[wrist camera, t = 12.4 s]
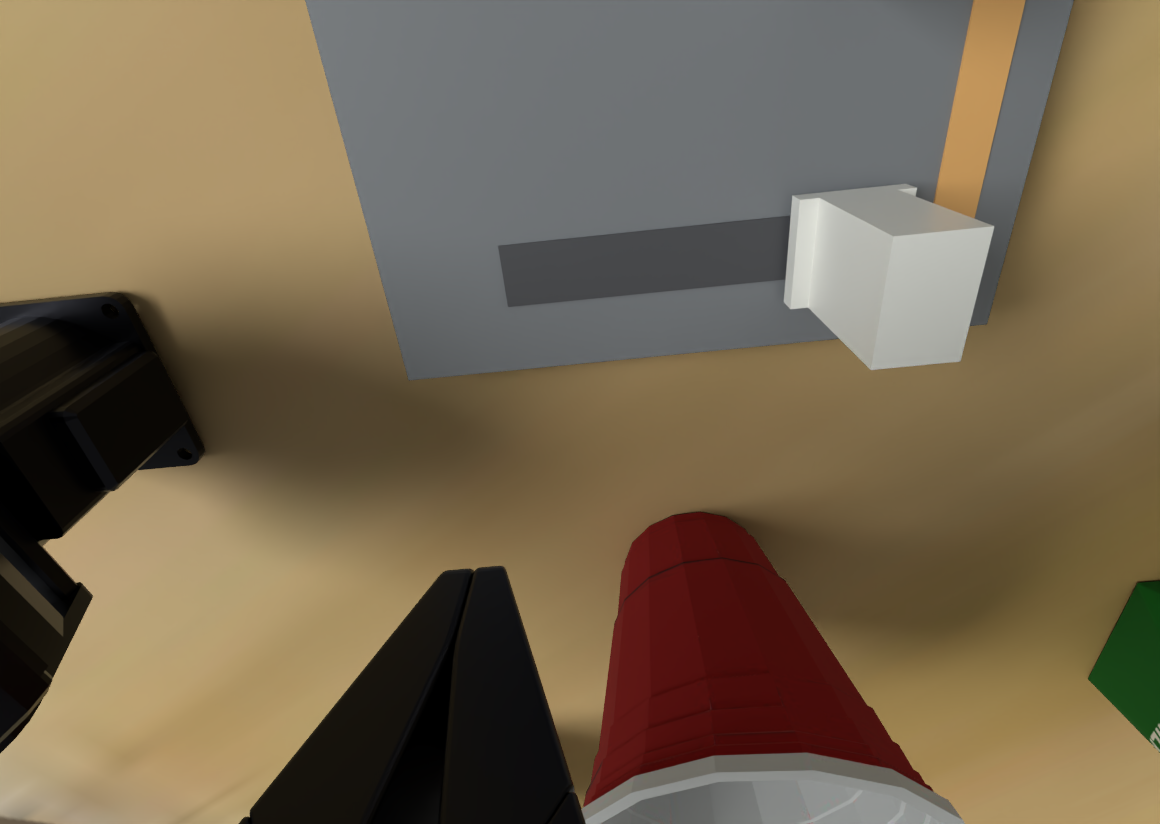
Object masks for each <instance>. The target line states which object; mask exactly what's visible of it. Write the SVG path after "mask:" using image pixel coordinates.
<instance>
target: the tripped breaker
mask: <svg viewBox="0 0 1160 824" xmlns="http://www.w3.org/2000/svg"><path fill="white" fill-rule="evenodd" d="M916 191H917V188H916V187H914V186H911V185H908V184H898V185H888V186H879V187H869V188H859V189H850V190H840V191H830V192H821V193H811V194H802V195H792V206H791V218H790V231H789V243H788V255H787V267H786V280H785V292H784V303H785V304H786V305H787V306H788V307H789V308H790V309H799V308H809V309H810V310H811V311H812V312H813V313H814V314H815V315H816V316H817V317H818V318H819V319H820V320H821V321H822V322H823V323H824V324H825V325H826V326H827V327H828V328H829V329H830V330H831V331H832V332H833V333H834V334H835V335H836V336H837V337H838V338H839V339H840V340H841V341H842V342H843V343H844V344H845V345H846V346H847V347H848V348H849V349H850V350H851V351H852V352H853V353H854V354H855V355H856V356H857V357H858V358H859V359H860V360H861V361H862V362H863V363H864V364H865V365H866V366H867V367H868V368H869V369H870V370H876V369H887V368H897V367H908V366H918V365H929V364H939V363H950V362H960V361H961V357H962V353H963V349H964V345H965V341H966V337H967V333H968V329H969V325H970V321H971V317H972V313H973V309H974V305H975V302H976V298H977V294H978V290H979V286H980V282H981V278H982V274H983V270H984V266H985V262H986V258H987V254H988V250H989V246H990V242H991V238H992V234H993V230H994V226H993V225H990V224H987V223H985V222H982V221H979V220H977V219H974V218H971V217H969V216H966V215H963V214H961V213H958V212H955V211H953V210H950V209H947V208H945V207H942V206H939V205H937V204H934V203H931V202H929V201H926V200H923V199H921V198H918V197H916Z"/></svg>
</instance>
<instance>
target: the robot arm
mask: <svg viewBox="0 0 1160 824" xmlns="http://www.w3.org/2000/svg"><path fill="white" fill-rule="evenodd" d="M110 304H111V305H113V306H114V307H115V308H116V309H117V310H118V313H119V314H117V313H115V312H113V310H112V309H111V308H110ZM184 448H185V449H187V450H189V451H190V452H191V453H189V452H187V451H186V450H185V449H184ZM204 453H205V449H204V446H203V444H202V442H201V440H200V438H199V436H198V434H197V432H196V430H195V428H194V426H193V424H192V422H191V420H190V418H189V416H188V414H187V412H186V410H185V408H184V406H183V404H182V402H181V400H180V398H179V396H178V394H177V392H176V390H175V388H174V386H173V384H172V382H171V380H170V378H169V376H168V374H167V372H166V370H165V368H164V366H163V364H162V362H161V360H160V358H159V356H158V354H157V352H156V350H155V348H154V346H153V344H152V342H151V340H150V338H149V336H148V334H147V332H146V330H145V328H144V326H143V324H142V322H141V320H140V318H139V316H138V314H137V312H136V310H135V308H134V306H133V304H132V303H131V302H130V300H129V299H128V298H126V297H125V296H124V295H121V294H119V293H115V292H106V293H97V294H87V295H77V296H67V297H58V298H48V299H38V300H29V301H19V302H9V303H0V753H1V752H2V751H3V750H4V749H5V748H6V747H7V746H8V745H9V744H10V743H11V742H12V741H13V740H14V739H15V738H16V737H17V736H18V734H19V733H20V732H21V731H22V730H23V728H24V727H25V726H26V725H27V723H28V722H29V721H30V719H31V718H32V716H33V715H34V713H35V711H36V710H37V708H38V706H39V705H40V703H41V701H42V699H43V697H44V696H45V695H46V694H47V692H48V690H49V687H50V685H51V682H52V679H53V677H54V675H55V672H56V670H57V668H58V666H59V664H60V662H61V660H62V658H63V656H64V654H65V652H66V650H67V648H68V646H69V644H70V642H71V640H72V638H73V636H74V634H75V632H76V630H77V628H78V626H79V624H80V622H81V620H82V618H83V616H84V614H85V612H86V610H87V608H88V606H89V604H90V602H91V600H92V598H93V595H92V594H91V593H90V592H89V591H88V590H87V589H86V587H85V586H84V585H83V584H82V583H81V582H79V583H76V582H75V581H74V580H73V579H72V578H71V577H70V576H69V575H68V574H67V573H66V571H65V570H64V569H63V568H62V567H61V566H60V565H59V564H58V563H57V562H56V561H55V559H54V558H53V557H52V556H51V555H50V554H49V553H48V552H47V551H46V550H45V549H44V548H43V545H44V544H46V543H47V542H48V541H49V540H50V539H58V538H60V537H62V536H63V535H65V534H66V533H67V532H68V531H69V530H70V529H71V528H72V527H73V526H74V525H75V524H76V523H77V522H78V521H79V520H80V519H82V518H83V517H84V516H85V515H86V514H87V513H88V512H89V511H90V510H91V509H92V508H93V507H94V506H95V505H96V504H97V503H99V502H100V501H101V500H102V499H103V498H104V497H105V496H106V495H107V494H108V493H109V492H110V491H115V490H116V489H118V488H119V487H120V486H121V485H122V484H123V483H124V482H125V481H126V480H127V479H129V478H130V477H131V476H132V475H133V474H134V473H135V472H136V471H137V470H144V469H155V468H166V467H176V466H187V465H193V464H196V463H197V462H198V461H199V460H200V459H201V458H202V456H203V455H204ZM239 824H586V823H585V819H584V816H583V813H582V810H581V807H580V803H579V800H578V797H577V795H576V793H575V791H574V786H573V782H572V779H571V776H570V773H569V770H568V766H567V763H566V760H565V757H564V754H563V750H562V747H561V744H560V741H559V738H558V734H557V731H556V728H555V725H554V722H553V718H552V715H551V712H550V709H549V706H548V703H547V699H546V696H545V693H544V690H543V687H542V683H541V680H540V677H539V674H538V671H537V667H536V664H535V661H534V658H533V655H532V651H531V648H530V645H529V642H528V639H527V635H526V632H525V629H524V626H523V623H522V619H521V616H520V613H519V610H518V607H517V604H516V600H515V597H514V594H513V591H512V588H511V584H510V581H509V578H508V575H507V572H506V569H505V568H504V567H503V566H492V567H481V568H477V569H476V570H475V571H474V570H472V569H458V570H447V571H444V572H443V573H442V574H441V575H440V576H439V577H438V578H437V579H436V581H435V582H434V583H433V584H432V586H431V587H430V588H429V589H428V590H427V592H426V593H425V594H424V595H423V597H422V598H421V599H420V600H419V602H418V603H417V604H416V605H415V607H414V608H413V609H412V610H411V612H410V613H409V614H408V615H407V616H406V618H405V619H404V620H403V621H402V623H401V624H400V625H399V626H398V628H397V629H396V630H395V631H394V633H393V634H392V635H391V636H390V637H389V639H388V640H387V641H386V642H385V644H384V645H383V646H382V647H381V649H380V650H379V651H378V652H377V654H376V655H375V656H374V657H373V659H372V660H371V661H370V662H369V663H368V665H367V666H366V667H365V668H364V670H363V671H362V672H361V673H360V675H359V676H358V677H357V678H356V680H355V681H354V682H353V683H352V684H351V686H350V687H349V688H348V689H347V691H346V692H345V693H344V694H343V696H342V697H341V698H340V699H339V701H338V702H337V703H336V704H335V706H334V707H333V708H332V709H331V710H330V712H329V713H328V714H327V715H326V717H325V718H324V719H323V720H322V722H321V723H320V724H319V725H318V727H317V728H316V729H315V730H314V731H313V733H312V734H311V735H310V736H309V738H308V739H307V740H306V741H305V743H304V744H303V745H302V746H301V748H300V749H299V750H298V751H297V753H296V754H295V755H294V756H293V757H292V759H291V760H290V761H289V762H288V764H287V765H286V766H285V767H284V769H283V770H282V771H281V772H280V774H279V775H278V776H277V777H276V779H275V780H274V781H273V782H272V783H271V785H270V786H269V787H268V788H267V790H266V791H265V792H264V793H263V795H262V796H261V797H260V798H259V800H258V801H257V802H256V803H255V804H254V806H253V807H252V808H251V810H250V817H244V818H243V819H242V820H241V821H240V823H239Z"/></svg>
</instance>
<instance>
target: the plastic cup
mask: <svg viewBox="0 0 1160 824" xmlns="http://www.w3.org/2000/svg"><path fill="white" fill-rule="evenodd" d="M582 813H583V816H584V819H585V823H586V824H965V823H964V821H963V820H962V818H961V817H960V816H959V814H958V813H957V811H956V810H955V809H954V807H953V806H952V805H951V803H950V802H949V800H947V799H945V798H943V797H942V796H940V795H938V794H936V793H934V792H933V790H932V788H931V787H930V786H929V785H927V784H925V782H924V781H923V779H922V777H921V776H920V774H919V773H918V772H916V771H915V770H913V768H912V766H911V765H910V763H909V761H908V760H907V758H906V756H905V755H904V753H903V751H902V750H901V748H900V746H899V745H898V744H897V743H895V742H893V741H892V740H891V738H890V736H889V735H888V733H887V731H886V730H885V728H884V726H883V725H882V723H881V721H880V720H879V718H878V716H877V715H876V713H875V712H874V710H873V708H871V707H869V706H868V705H867V704H866V703H865V701H864V700H863V698H862V697H861V695H860V694H859V692H858V691H857V689H856V688H855V686H854V685H853V683H852V682H851V680H850V679H849V677H848V676H847V674H846V672H845V671H844V669H843V668H842V666H841V665H840V663H839V662H838V660H837V659H836V657H835V656H834V654H833V653H832V651H831V650H830V648H829V647H828V645H827V644H826V642H825V641H824V639H823V637H822V636H821V634H820V633H819V631H818V630H817V628H816V627H815V625H814V624H813V622H812V621H811V619H810V618H809V616H808V615H807V613H806V612H805V610H804V609H803V607H802V606H801V604H800V603H799V601H798V599H797V598H796V596H795V595H794V593H793V592H792V590H791V589H790V587H789V586H788V584H787V583H786V581H785V580H784V579H782V578H781V577H779V576H778V574H777V572H776V571H775V569H774V568H773V566H772V565H771V563H770V562H769V560H768V559H767V557H766V556H765V554H764V553H763V551H762V550H761V548H760V547H759V545H758V544H757V542H756V541H755V539H754V538H753V537H752V536H751V535H749V534H748V533H747V531H746V530H745V529H744V528H743V527H741V526H740V525H738V524H736V523H735V522H733V521H732V520H730V519H728V518H727V517H724V516H719V515H714V514H709V513H703V512H696V513H688V514H680V515H673V516H671V517H669V518H666V519H664V520H662V521H660V522H658V523H655V524H653V525H651V526H649V527H648V528H647V529H646V530H645V531H644V532H643V533H642V534H641V535H640V536H639V537H638V538H637V539H636V540H635V541H634V542H633V543H632V545H631V548H630V550H629V553H628V555H627V558H626V560H625V565H624V568H623V570H622V574H621V585H620V596H619V608H618V616H617V619H616V621H615V624H614V631H613V639H612V647H611V655H610V663H609V671H608V680H607V688H606V696H605V704H604V712H603V720H602V728H601V736H600V744H599V751H598V753H597V755H596V757H595V760H594V766H593V773H592V779H591V784H590V786H589V788H588V790H587V792H586V796H585V802H584V807H583V808H582Z"/></svg>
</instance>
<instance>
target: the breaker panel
mask: <svg viewBox="0 0 1160 824" xmlns="http://www.w3.org/2000/svg"><path fill="white" fill-rule="evenodd" d="M305 1H306V5H307V9H308V12H309V16H310V20H311V23H312V27H313V31H314V34H315V38H316V42H317V45H318V49H319V53H320V56H321V60H322V64H323V67H324V71H325V75H326V78H327V82H328V86H329V89H330V93H331V97H332V100H333V104H334V108H335V111H336V115H337V119H338V123H339V126H340V130H341V134H342V137H343V141H344V145H345V148H346V152H347V156H348V159H349V163H350V167H351V170H352V174H353V178H354V181H355V185H356V189H357V192H358V196H359V200H360V203H361V207H362V211H363V214H364V218H365V222H366V225H367V229H368V233H369V236H370V240H371V244H372V247H373V251H374V255H375V258H376V262H377V266H378V269H379V273H380V277H381V280H382V284H383V288H384V291H385V295H386V299H387V302H388V306H389V310H390V313H391V317H392V321H393V324H394V328H395V332H396V335H397V339H398V343H399V347H400V350H401V354H402V358H403V361H404V365H405V369H406V372H407V376H408V380H418V379H429V378H439V377H449V376H460V375H470V374H480V373H490V372H501V371H511V370H521V369H532V368H542V367H552V366H563V365H573V364H583V363H594V362H604V361H614V360H624V359H635V358H645V357H655V356H666V355H676V354H686V353H697V352H707V351H717V350H728V349H738V348H748V347H758V346H769V345H779V344H789V343H800V342H810V341H820V340H831V339H839V338H838V337H837V336H836V335H835V334H834V333H833V332H832V331H831V330H830V329H829V328H828V327H827V326H826V325H825V324H824V323H823V322H822V321H821V320H820V319H819V318H818V317H817V316H816V315H815V314H814V313H813V312H812V311H811V310H810V309H809V308H799V309H790V308H789V307H788V306H787V305H786V304H785V303H784V292H785V280H786V267H787V255H788V243H789V231H790V218H791V206H792V195H802V194H811V193H821V192H830V191H840V190H850V189H859V188H869V187H879V186H888V185H898V184H908V185H911V186H914V187H916V188H917V191H916V197H918V198H921V199H923V200H926V201H929V202H931V203H934V204H937V205H939V206H942V207H945V208H947V209H950V210H953V211H955V212H958V213H961V214H963V215H966V216H969V217H971V218H974V219H977V220H979V221H982V222H985V223H987V224H990V225H993V226H994V230H993V234H992V238H991V242H990V246H989V250H988V254H987V258H986V262H985V266H984V270H983V274H982V278H981V282H980V286H979V290H978V294H977V298H976V302H975V305H974V309H973V313H972V317H971V321H970V325H969V326H975V325H985V324H987V322H988V318H989V315H990V311H991V307H992V304H993V300H994V296H995V292H996V289H997V285H998V281H999V277H1000V274H1001V270H1002V266H1003V262H1004V259H1005V255H1006V251H1007V248H1008V244H1009V240H1010V236H1011V233H1012V229H1013V225H1014V221H1015V218H1016V214H1017V210H1018V206H1019V203H1020V199H1021V195H1022V192H1023V188H1024V184H1025V180H1026V177H1027V173H1028V169H1029V165H1030V162H1031V158H1032V154H1033V151H1034V147H1035V143H1036V139H1037V136H1038V132H1039V128H1040V124H1041V121H1042V117H1043V113H1044V109H1045V106H1046V102H1047V98H1048V95H1049V91H1050V87H1051V83H1052V80H1053V76H1054V72H1055V68H1056V65H1057V61H1058V57H1059V53H1060V50H1061V46H1062V42H1063V39H1064V35H1065V31H1066V27H1067V24H1068V20H1069V16H1070V12H1071V9H1072V5H1073V1H1074V0H305Z"/></svg>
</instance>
